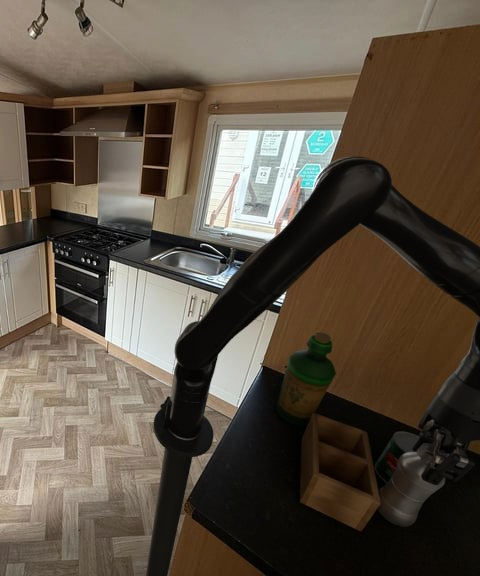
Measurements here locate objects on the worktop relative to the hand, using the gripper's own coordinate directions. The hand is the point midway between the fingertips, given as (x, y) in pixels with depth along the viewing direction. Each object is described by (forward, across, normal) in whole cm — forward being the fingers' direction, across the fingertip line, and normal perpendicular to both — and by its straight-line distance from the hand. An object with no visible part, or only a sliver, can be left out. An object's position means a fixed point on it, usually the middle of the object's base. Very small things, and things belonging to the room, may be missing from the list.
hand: (423, 466), depth 60 cm
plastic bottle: (+16, 0, 0) cm, 16 cm away
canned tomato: (+17, -12, +3) cm, 21 cm away
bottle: (+17, -20, -19) cm, 32 cm away
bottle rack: (+16, -2, -11) cm, 20 cm away
